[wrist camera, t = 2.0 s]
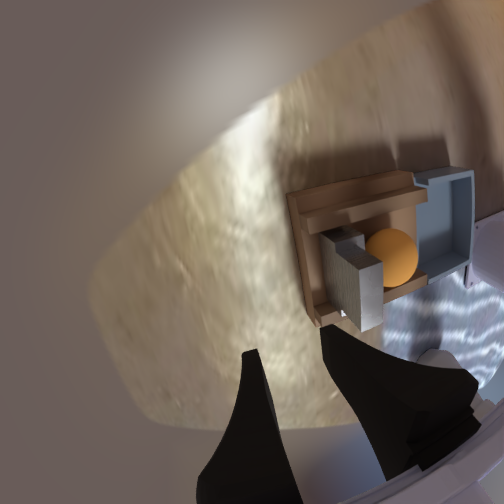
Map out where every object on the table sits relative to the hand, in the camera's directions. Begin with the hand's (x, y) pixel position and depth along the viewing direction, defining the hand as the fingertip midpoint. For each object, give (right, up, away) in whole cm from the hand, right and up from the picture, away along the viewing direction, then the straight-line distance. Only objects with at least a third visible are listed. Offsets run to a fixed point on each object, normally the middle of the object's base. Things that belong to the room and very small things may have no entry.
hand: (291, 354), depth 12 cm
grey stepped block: (+4, +4, +7) cm, 9 cm away
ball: (+8, +4, +6) cm, 10 cm away
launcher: (+6, +5, +10) cm, 13 cm away
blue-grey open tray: (+15, +8, +10) cm, 19 cm away
